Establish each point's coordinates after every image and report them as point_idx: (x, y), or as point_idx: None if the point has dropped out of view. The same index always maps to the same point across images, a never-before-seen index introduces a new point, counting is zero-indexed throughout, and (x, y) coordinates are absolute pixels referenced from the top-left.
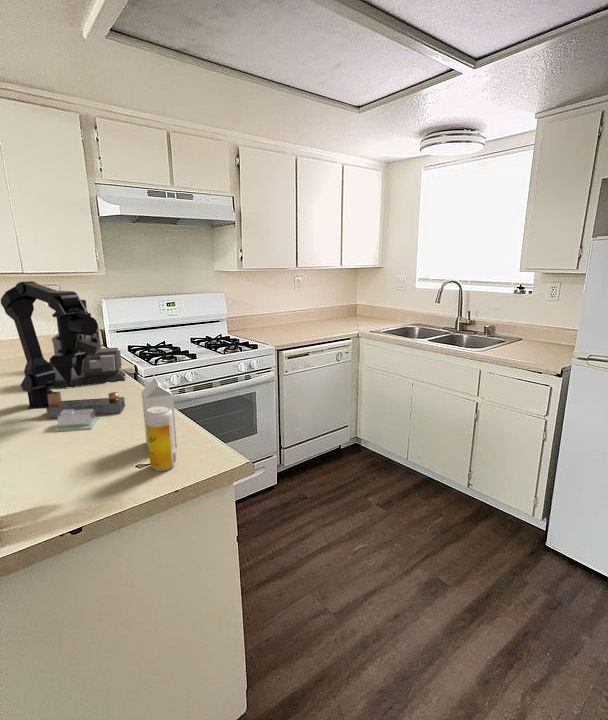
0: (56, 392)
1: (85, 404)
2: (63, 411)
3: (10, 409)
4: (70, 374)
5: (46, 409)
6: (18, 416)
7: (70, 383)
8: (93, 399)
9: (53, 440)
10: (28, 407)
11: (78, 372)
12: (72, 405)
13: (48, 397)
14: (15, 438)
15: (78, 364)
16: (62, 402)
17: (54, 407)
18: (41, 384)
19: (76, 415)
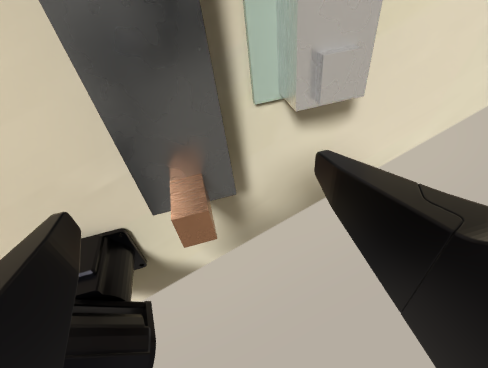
0: (188, 224)
1: (182, 55)
2: (343, 91)
3: (156, 286)
4: (421, 188)
5: (235, 191)
6: (206, 245)
7: (329, 153)
8: (80, 48)
9: (431, 41)
10: (146, 263)
11: (67, 247)
12: (202, 118)
13: (214, 225)
14: (363, 162)
15: (15, 339)
16: (163, 181)
17: (226, 175)
18: (119, 315)
19: (381, 5)
